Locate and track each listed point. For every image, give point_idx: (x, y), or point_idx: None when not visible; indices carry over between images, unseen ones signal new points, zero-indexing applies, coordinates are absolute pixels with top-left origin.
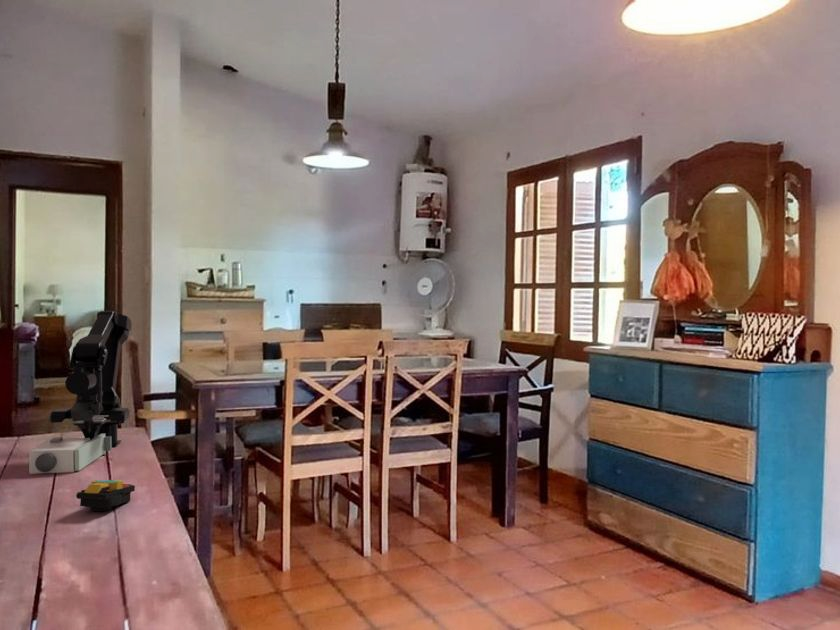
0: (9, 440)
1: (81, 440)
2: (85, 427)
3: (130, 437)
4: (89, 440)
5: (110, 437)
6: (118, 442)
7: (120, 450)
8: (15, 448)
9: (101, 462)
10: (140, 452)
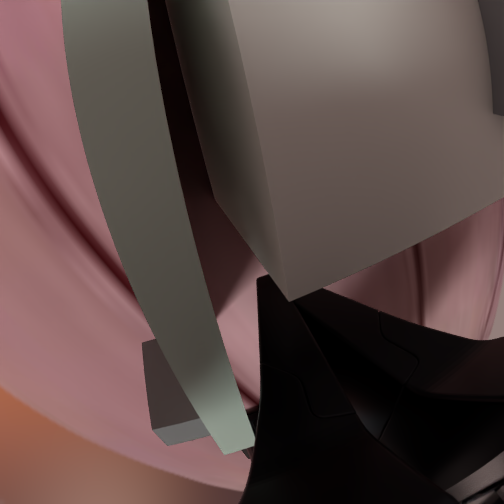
0: (489, 332)
1: (332, 78)
2: (450, 390)
3: None
4: (269, 256)
5: (157, 432)
6: None
7: None
8: (495, 283)
9: (46, 98)
10: (27, 385)
